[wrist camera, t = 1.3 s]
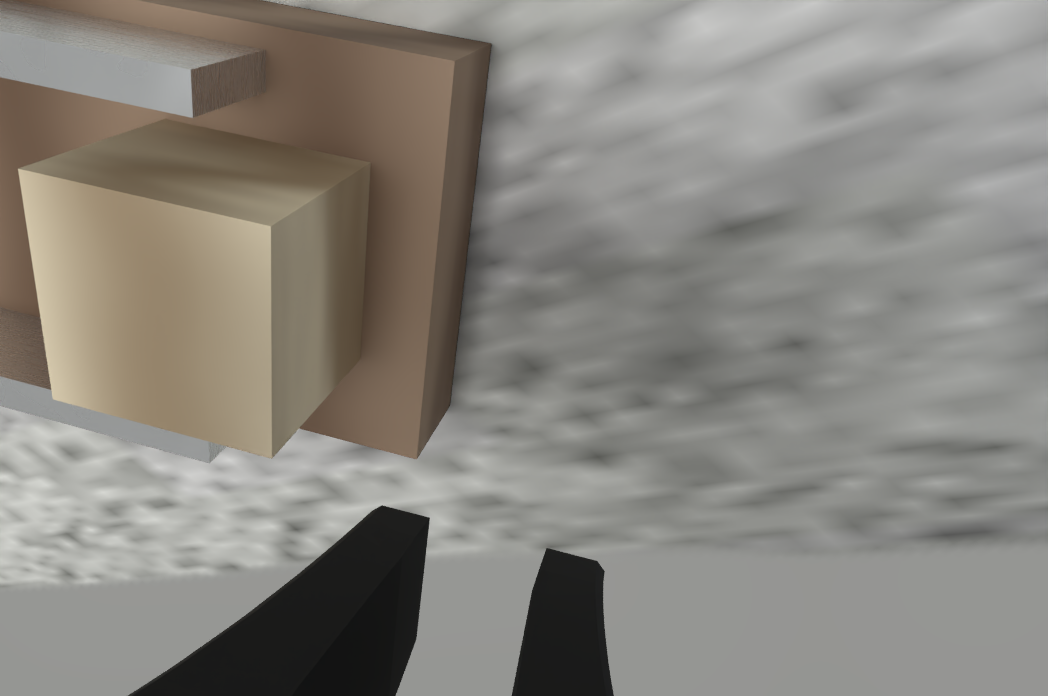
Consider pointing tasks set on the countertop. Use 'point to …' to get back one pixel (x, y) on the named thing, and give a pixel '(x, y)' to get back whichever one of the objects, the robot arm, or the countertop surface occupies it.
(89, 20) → the channel walls
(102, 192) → the maple block
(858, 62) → the countertop surface
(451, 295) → the board
